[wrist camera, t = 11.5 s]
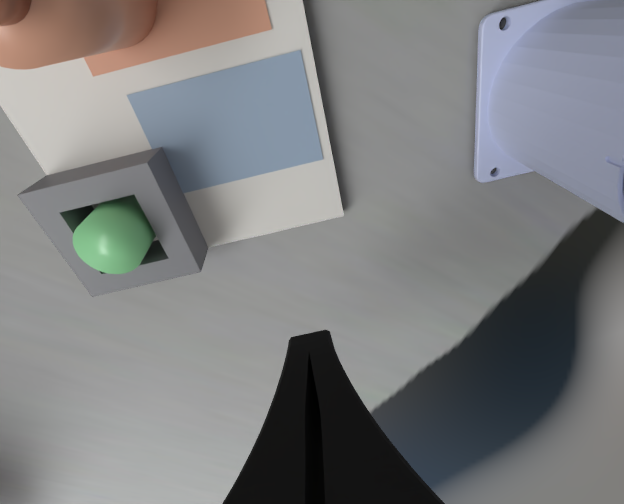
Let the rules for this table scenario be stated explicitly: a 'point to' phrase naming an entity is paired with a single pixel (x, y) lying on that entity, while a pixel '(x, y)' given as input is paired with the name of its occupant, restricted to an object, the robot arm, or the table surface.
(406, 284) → the table surface
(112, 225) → the button
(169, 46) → the picture board
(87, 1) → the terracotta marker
